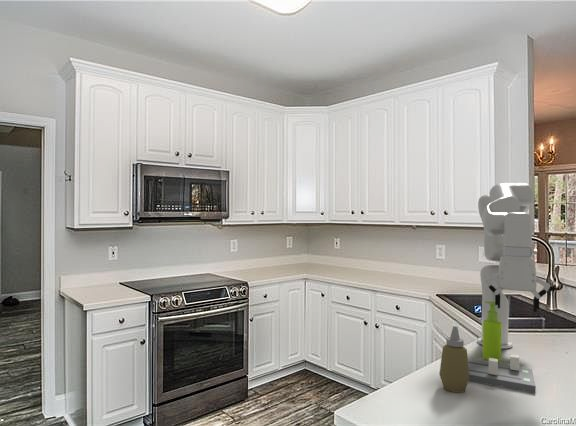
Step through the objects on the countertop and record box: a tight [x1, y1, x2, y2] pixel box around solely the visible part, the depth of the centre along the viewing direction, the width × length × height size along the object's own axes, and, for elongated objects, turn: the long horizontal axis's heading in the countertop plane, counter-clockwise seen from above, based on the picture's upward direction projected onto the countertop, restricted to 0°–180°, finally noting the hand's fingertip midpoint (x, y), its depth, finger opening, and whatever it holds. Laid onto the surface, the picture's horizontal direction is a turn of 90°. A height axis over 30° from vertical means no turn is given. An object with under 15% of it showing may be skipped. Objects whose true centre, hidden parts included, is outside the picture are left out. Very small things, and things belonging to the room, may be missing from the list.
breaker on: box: [509, 353, 520, 371], centre depth 133 cm, size 3×2×4 cm
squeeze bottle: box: [439, 325, 470, 393], centre depth 122 cm, size 8×8×18 cm
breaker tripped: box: [488, 358, 499, 375], centre depth 129 cm, size 3×2×4 cm
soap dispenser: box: [482, 301, 502, 362], centre depth 151 cm, size 6×7×20 cm
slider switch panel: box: [468, 358, 537, 394], centre depth 132 cm, size 16×22×2 cm
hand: (516, 309), depth 127 cm, fingers open, 9 cm apart
